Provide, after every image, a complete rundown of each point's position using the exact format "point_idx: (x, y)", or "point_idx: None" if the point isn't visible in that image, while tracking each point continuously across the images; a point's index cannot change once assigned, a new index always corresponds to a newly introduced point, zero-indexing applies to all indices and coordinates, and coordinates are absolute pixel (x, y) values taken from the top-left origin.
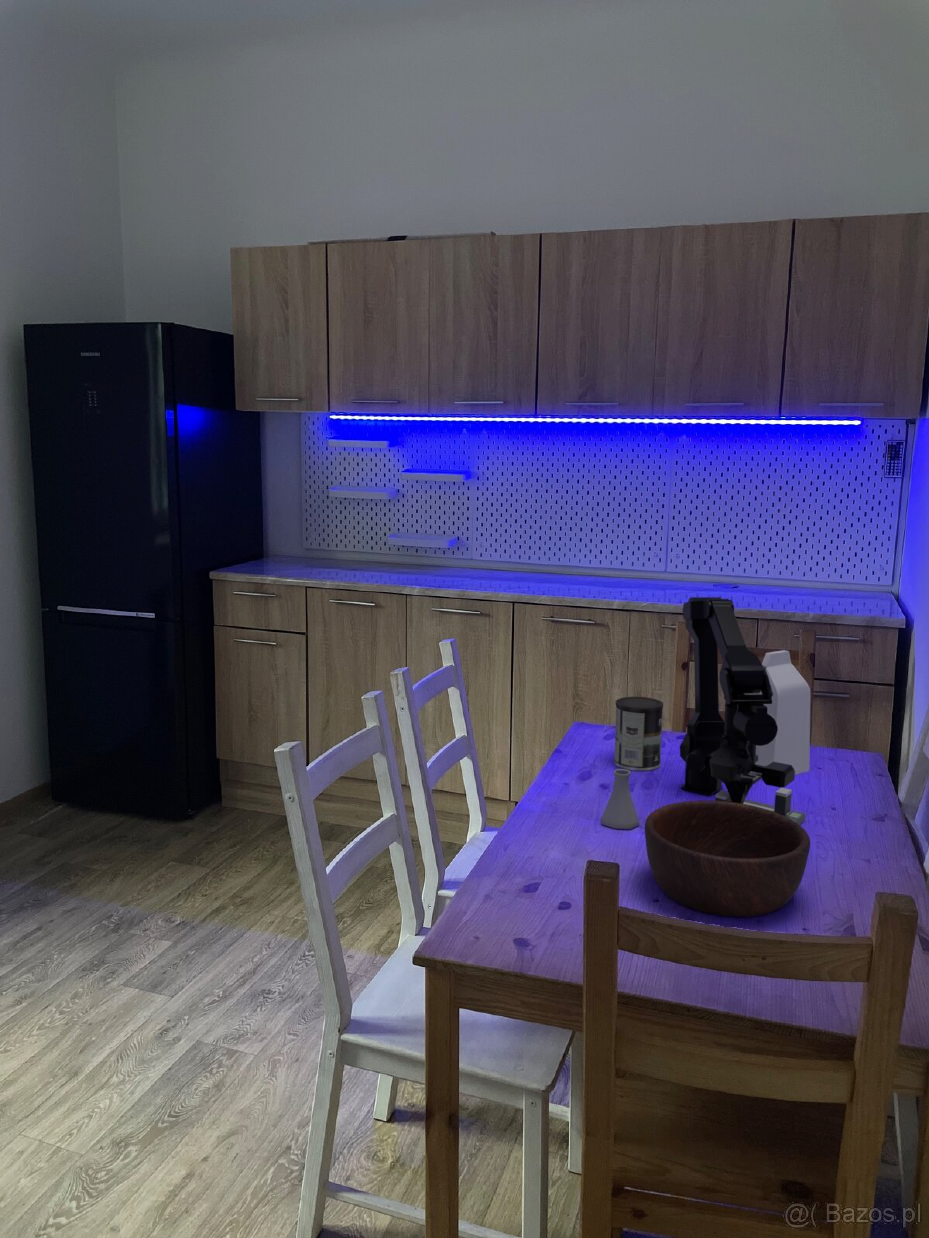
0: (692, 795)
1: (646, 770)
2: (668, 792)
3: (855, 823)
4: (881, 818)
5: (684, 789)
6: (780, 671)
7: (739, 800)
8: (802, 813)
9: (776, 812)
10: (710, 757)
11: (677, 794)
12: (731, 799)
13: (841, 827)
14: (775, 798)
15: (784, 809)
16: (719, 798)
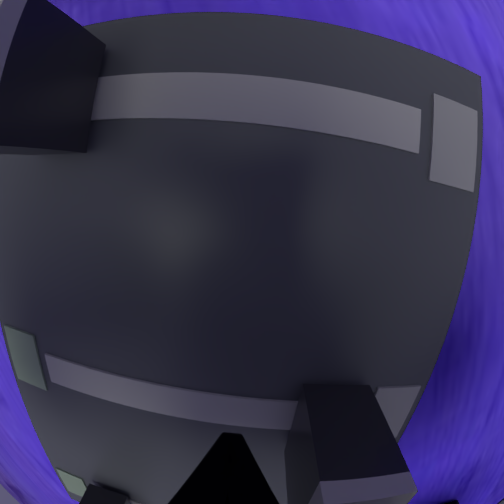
0: (432, 496)
1: (502, 500)
2: (489, 468)
3: (16, 474)
4: (16, 493)
5: (450, 502)
6: None
7: (189, 496)
8: (74, 496)
9: (118, 493)
10: None
11: (470, 475)
12: (270, 499)
13: (12, 455)
14: None
15: (84, 497)
16: (376, 475)
